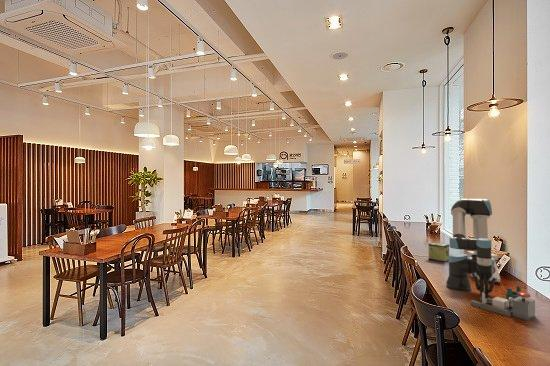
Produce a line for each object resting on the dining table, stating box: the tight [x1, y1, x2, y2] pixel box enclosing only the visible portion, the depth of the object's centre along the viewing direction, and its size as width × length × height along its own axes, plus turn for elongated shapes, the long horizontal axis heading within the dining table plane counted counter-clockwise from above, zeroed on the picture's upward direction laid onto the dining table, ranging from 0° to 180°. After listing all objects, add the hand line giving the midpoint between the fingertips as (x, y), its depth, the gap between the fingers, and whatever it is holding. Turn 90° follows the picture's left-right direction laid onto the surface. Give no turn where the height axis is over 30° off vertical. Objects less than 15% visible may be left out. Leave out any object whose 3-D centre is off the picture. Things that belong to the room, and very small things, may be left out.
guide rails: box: [470, 296, 513, 317], centre depth 181 cm, size 14×20×2 cm
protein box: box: [428, 242, 450, 263], centre depth 294 cm, size 10×16×16 cm
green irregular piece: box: [505, 285, 522, 300], centre depth 190 cm, size 9×9×9 cm
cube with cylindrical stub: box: [491, 296, 508, 310], centre depth 178 cm, size 6×8×6 cm
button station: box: [507, 291, 536, 322], centre depth 170 cm, size 10×10×12 cm
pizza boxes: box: [466, 250, 501, 283], centre depth 238 cm, size 19×30×18 cm, turn 157°
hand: (484, 302), depth 186 cm, fingers closed
